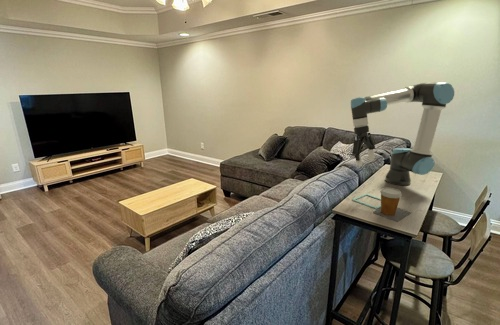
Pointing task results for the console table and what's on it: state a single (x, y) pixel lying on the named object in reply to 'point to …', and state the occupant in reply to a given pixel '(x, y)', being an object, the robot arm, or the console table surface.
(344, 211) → the console table surface
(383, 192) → the disposable coffee cup
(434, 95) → the robot arm
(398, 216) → the charcoal mat
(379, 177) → the console table surface
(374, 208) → the teal frame
